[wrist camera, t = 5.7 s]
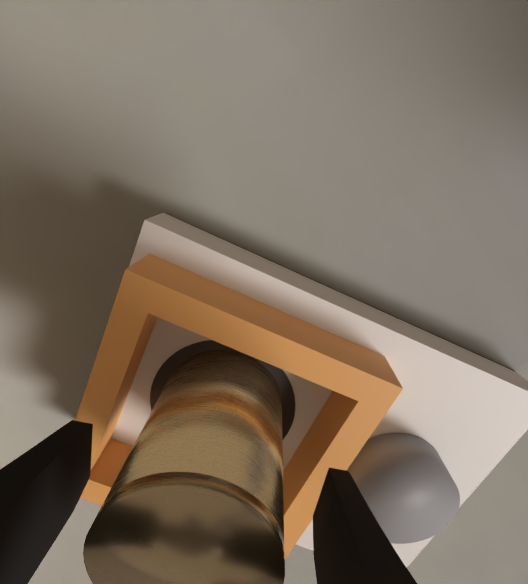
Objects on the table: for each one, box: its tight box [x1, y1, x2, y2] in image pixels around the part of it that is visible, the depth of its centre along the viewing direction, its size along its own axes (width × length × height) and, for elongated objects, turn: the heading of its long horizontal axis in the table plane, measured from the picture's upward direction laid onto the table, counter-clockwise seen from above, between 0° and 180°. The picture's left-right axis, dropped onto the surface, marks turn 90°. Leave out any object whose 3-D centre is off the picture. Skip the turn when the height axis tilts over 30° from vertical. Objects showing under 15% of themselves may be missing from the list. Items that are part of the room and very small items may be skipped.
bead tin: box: [83, 350, 285, 584], centre depth 11 cm, size 4×4×6 cm
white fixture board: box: [75, 213, 528, 568], centre depth 14 cm, size 16×11×4 cm
